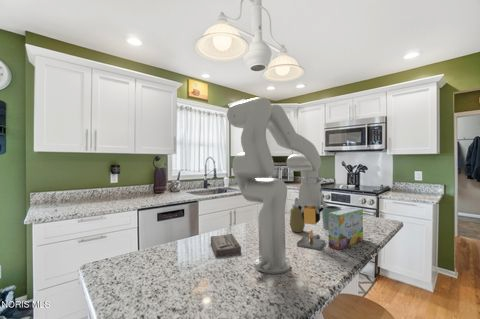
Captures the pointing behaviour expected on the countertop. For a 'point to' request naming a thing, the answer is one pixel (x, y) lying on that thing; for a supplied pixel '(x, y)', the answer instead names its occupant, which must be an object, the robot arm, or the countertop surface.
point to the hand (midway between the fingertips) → (311, 220)
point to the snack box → (345, 227)
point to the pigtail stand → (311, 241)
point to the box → (225, 245)
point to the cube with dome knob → (310, 215)
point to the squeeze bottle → (296, 219)
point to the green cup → (326, 215)
